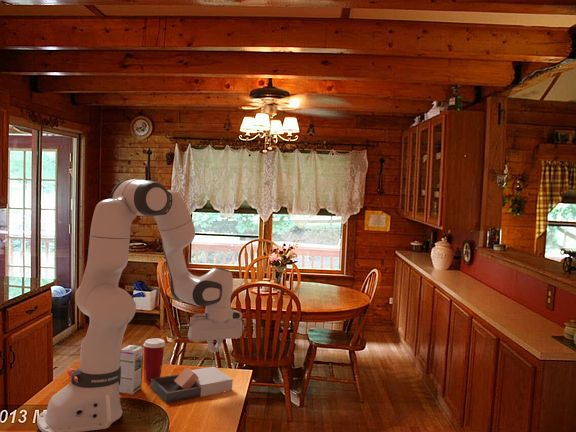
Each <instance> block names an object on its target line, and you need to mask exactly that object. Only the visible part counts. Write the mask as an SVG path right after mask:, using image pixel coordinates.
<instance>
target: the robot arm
mask: <svg viewBox="0 0 576 432" xmlns="http://www.w3.org/2000/svg"><path fill="white" fill-rule="evenodd" d="M137 216H140V217H144V216H145V217H153V218H154V220H155V222H156V226H157V228H158V231H159V234H160V238H161V241H162V251H163V255H164V258H165V262H166V266H167V270H168V273H169V277H170V281H169V282H170V284H169V286H170V293H171V295H172V297H173V298H174V299H175V300H176V301H179V302H184V303H187V304H189V305H194V306H197V307H205V311H204V312H205V313H194V314H193V315H192V316H191V317H190V318H189V327H188V331H187V332H188V333H187V338H188V340H189V341H191V342H203V341H204V342H205V341H206V342H207V345H208V351H209V353H218V352H219V349H220V346H221V345H222V344H223V340H229V339H240V338H241V336H242V335H243V320H242V318H243V313H242V312H240V311H238V310H236V309H234V308H231V307H232V302H231V297H232V295H233V289H234V287H233V286H234V276H233V273H232V271H231V270H229V269H226V268H221V267H218V266H217V267H216V266H214V267H212V268H211V269H210V270H209V271H208V272H207V273H205V274H203V275H201V276H198V275H194V274H192V273H191V272H190V271H189V270H188V267H187V263H186V259H185V255H184V249H185V248H186V247H188V246H189V245H191V243H192V242H193V241H194V239H195V237H196V229H195V228H196V227H195V225H194V222H193V219H192V216H191V212H190V210H189V208H188V206H187V204H186V202H185V201H184V198H183V197H182V195H181V194H180V193H179V192H178V191H176V190H173V189H167V188H166V186H164V185H163V184H162V183H160V182H158V181H155V180H147V179H143V178H133V179H131V178H127V179H124V180H121V181H120V182H118V183H117V184H116V185H115V186H114V187H113V188H112V190H111V193H110V194H109V196H108V198H107V199H103V200H101V201H99V202H98V203H97V204H96V205H95V208H94V211H93V216H92V220H91V224H90V230H89V231H90V233H89V243H88V251H87V262H86V266H85V270H84V273H83V275H82V279H81V283H80V285H79V286H78V288H77V289H76V291H75V293H74V301H75V303H76V306H77V307H78V310H80V311H81V313H82V314H84V315H86V316H87V317H88V318H89V325H88V328H87V332H86V335H85V337H84V338H83V339H82V340H81V344H80V355H79V356H80V358H79V367H78V368H77V369H76V370H75V369H74V367H69V368H68V369H67V370H66V373H67V375H68V376H69V377H70V382H69V383H68V384H67V385H66V386H64V387H63V388H62V389H60V390H58V391H57V392H56V393H54V394H53V395H52V396H51V397H50V400H49V402H48V405H47V407H46V408H47V409H46V410H44V411H42V412H41V413H39V415H38V416H37V421H36V424H37V427H38V429H39V431H41V432H89V431H97V430H98V431H99V430H106V429H108V428H110V427H111V425H112V424H113V423H114V422H116V421H117V420H119V419H120V418H121V417H122V415H123V409H122V406H121V398H120V392H119V385H120V381H121V366H120V356H121V349H122V344H123V339H124V335H125V333H126V332H125V331H126V329H127V326H128V324H129V323H130V322H131V321H132V320H133V318H134V317H135V314H136V310H137V305H136V301H135V299H134V298H133V297H132V296H131V294H130V293H129V292H128V291H127V290H125V289H123V288H121V287H119V283H120V278H121V276H122V273H123V271H124V269H126V267H127V265H128V263H129V252H130V251H129V250H130V243H131V227H132V222H133V221H134V219H135V218H136V217H137ZM214 340H215V341H216V344H214V345H213V343H214Z"/></svg>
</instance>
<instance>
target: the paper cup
mask: <svg viewBox="0 0 576 432" xmlns="http://www.w3.org/2000/svg"><path fill="white" fill-rule="evenodd" d="M142 345H143V380H144V381H145V382H146V383H150V384H151V379H152V378H158V377H162V369H163V359H164V353H165V346H166V343H165V340H164V339H162V338H159V337H157V338H153V337H152V338H148V339H146V340H145V341H144V343H143V344H142Z"/></svg>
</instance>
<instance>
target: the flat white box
mask: <svg viewBox="0 0 576 432" xmlns="http://www.w3.org/2000/svg"><path fill="white" fill-rule="evenodd" d="M190 370H191V371H192V372H194V373H195V374H196V375H197V376H198V378H199V379H198V380H197V381H196V382H195V383H196V384H198V385H199V386H200V387H201V396H200V397H199V398H201V397H206V396H211V395H216V393H217V394H222V393H221V392H223V393H225V392H224V391H228V390H232V391H233V381H234V380H233V378H232V377H230V376H228V375H227V374H226V373H224V372H223V371H221V369H219V368H217V367H216V366H209V367H208V366H207V367H203V368H196V369H190ZM228 392H229V391H228Z"/></svg>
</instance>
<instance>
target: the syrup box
mask: <svg viewBox="0 0 576 432" xmlns="http://www.w3.org/2000/svg"><path fill="white" fill-rule="evenodd" d="M120 366H121V381H120V385H119V393H122V394H126V395H134V394H135V393H136V392H138V391H139V390H141V389H142V383H143V382H142V381H143V368H144V346H142V345H136V344H128V345H127V346H125V347H123V348H121V356H120Z"/></svg>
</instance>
